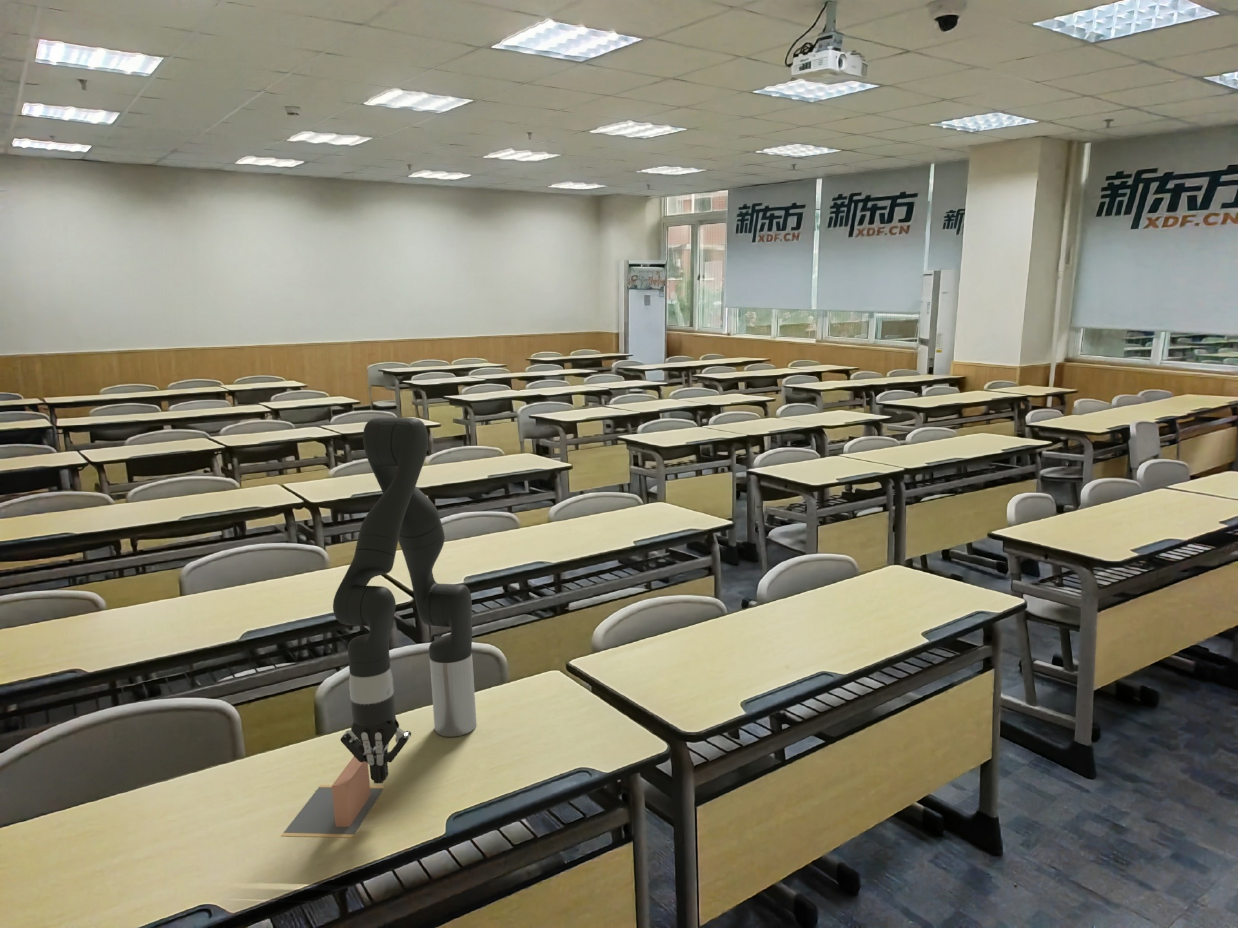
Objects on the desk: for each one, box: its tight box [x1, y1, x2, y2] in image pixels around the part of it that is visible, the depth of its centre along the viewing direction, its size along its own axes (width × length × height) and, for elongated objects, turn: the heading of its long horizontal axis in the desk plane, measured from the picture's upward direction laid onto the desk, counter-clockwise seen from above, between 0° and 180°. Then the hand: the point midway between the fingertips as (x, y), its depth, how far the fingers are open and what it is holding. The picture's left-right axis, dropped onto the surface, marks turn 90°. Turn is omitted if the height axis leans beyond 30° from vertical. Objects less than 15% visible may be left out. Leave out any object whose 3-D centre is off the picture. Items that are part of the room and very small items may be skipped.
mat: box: [280, 784, 386, 839], centre depth 151 cm, size 16×13×1 cm
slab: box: [331, 755, 371, 827], centre depth 150 cm, size 10×3×8 cm, turn 176°
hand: (379, 780), depth 149 cm, fingers closed
